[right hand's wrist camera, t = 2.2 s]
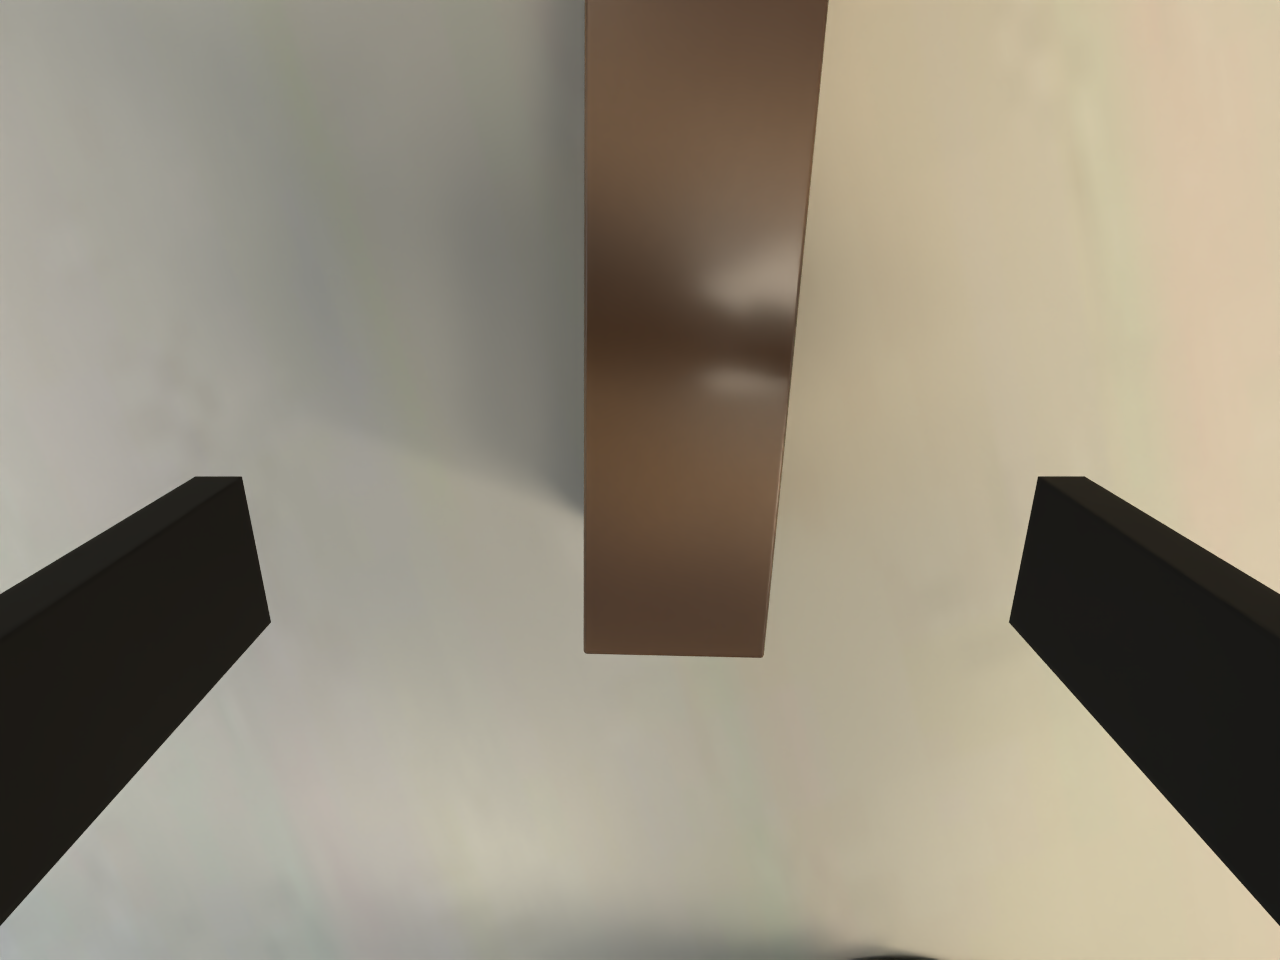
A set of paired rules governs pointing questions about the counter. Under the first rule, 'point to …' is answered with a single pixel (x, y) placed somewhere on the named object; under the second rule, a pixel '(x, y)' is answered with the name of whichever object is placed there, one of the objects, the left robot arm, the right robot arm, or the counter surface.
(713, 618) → the bar
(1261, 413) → the counter surface
